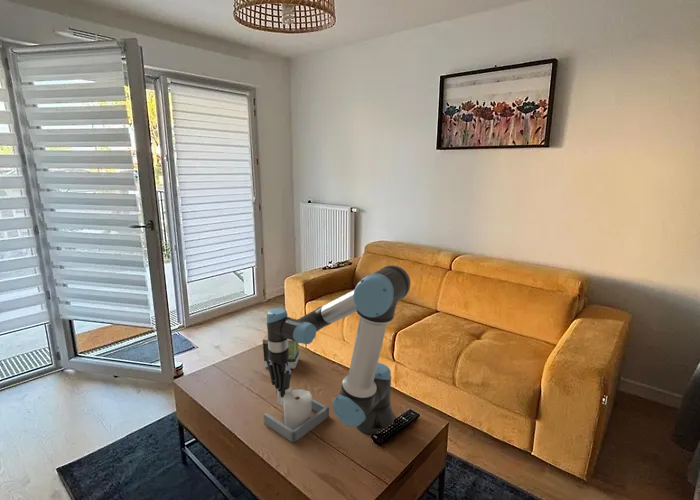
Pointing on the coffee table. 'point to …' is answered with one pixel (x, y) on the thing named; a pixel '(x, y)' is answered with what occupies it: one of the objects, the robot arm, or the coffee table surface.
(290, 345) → the tea box
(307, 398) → the toilet tissue
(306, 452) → the coffee table surface
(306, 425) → the grey u-shaped bracket
